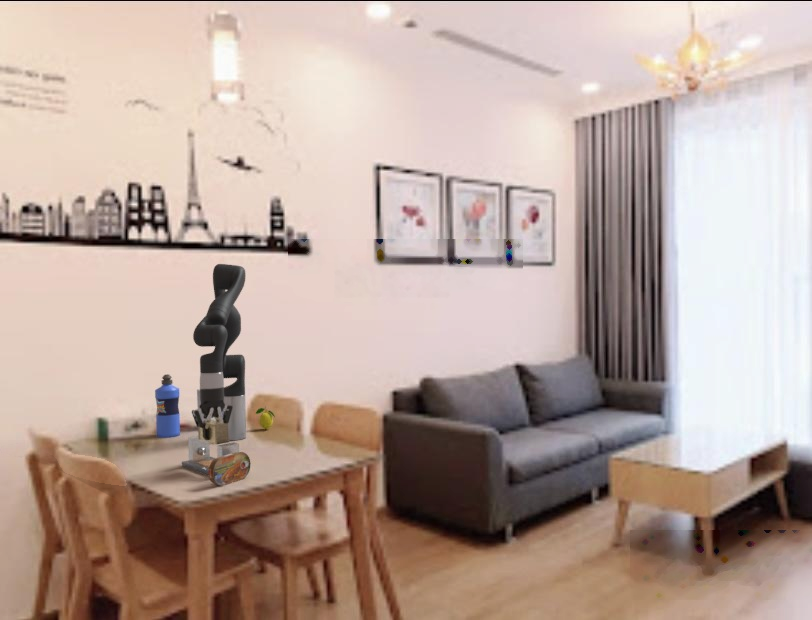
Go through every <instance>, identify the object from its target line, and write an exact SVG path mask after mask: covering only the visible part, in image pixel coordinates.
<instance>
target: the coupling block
mask: <svg viewBox="0 0 812 620" xmlns="http://www.w3.org/2000/svg"><path fill="white" fill-rule="evenodd" d="M202 422H203V420H202ZM197 428H198V429H197V430H198V435H197V436H198V438H199V440H203V441H207V442H209V444H210V443H211V444H215V445H223V444H228V443H230V442H229V441H230V440H229V439H228V423H223V422H218V421H214V420H211V421H210V423H209V428H208V429H209V440H205V439H204V438H203V429H202V428H200V427H197Z"/></svg>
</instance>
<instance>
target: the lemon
mask: <svg viewBox="0 0 812 620" xmlns="http://www.w3.org/2000/svg"><path fill="white" fill-rule="evenodd" d="M262 412H263V413H262ZM260 413H261V414H260ZM254 414H256V415H257V414H260V417H259V426H260V427H261V428H263V429H265V431H267V430H268V429H269V428H271V427H272V426H273V423H274V418H276V416H275V414H274V412H272V411H271V410H265V407H264V408H263V407H260V408H258V409H257V410H256V411H255V413H254ZM273 417H274V418H273Z"/></svg>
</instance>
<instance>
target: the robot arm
mask: <svg viewBox="0 0 812 620" xmlns="http://www.w3.org/2000/svg"><path fill="white" fill-rule="evenodd" d="M212 272H213V273H212V286H213V293H214V299H213V301H212V302H211V303H210V304H209V307H208V310H207V311H206V315H205V316H204V317H203V318H202V320H200V322H199V323H198V324H197V325H196V326H195V329H194V330H193V333H192V334H193V335H192V336H193V337H192V338H193V343H195V344H196V345H197V346H199V347H203V348H204V347H207V348H208V347H209V348H210V347H214V350H212V352H210V353H205V354H202V355H201V356H200V358H199V368H200V370H199V371H200V372H199V389H200V401H201V404H200V407H199V408H198V407H197V408H196V409H192V410H191V414H192V417H193V420H194V423H195V426H196V427H197V428H198V427H200V428H202V429H203V438H204V439H205V440H209V429H208V428H209V423H210V421H211V418H213V417H214V418H215V419H216V421H218V422H223V423H228V439H229V441H239V440H244V439H246V438H247V419H246V418H247V417H246V413H247V411H246V382H245V380H246V379H245V378H246V360H245V356H244V355H243V354H227V353H228V351H229V350H230V348H231V347H232V345H233V344H234V343H235V342H236V341H237V339H238V338H239V336H240V334H241V331H242V317H241V314H240V312H239V310H238V308H237V307H236V306H235V303H236V302H237V299H238V298H239V296H240V294H241V293H242V290H243V289H244V287H245V282H246V269H245V268H244V267H243V266H241V265H238V264H237V265H235V264H225V263H218V264H216V265H215V266H214V267H213V271H212ZM224 379H236V380H235V382H234V381H233V383H230V385H226V386H225V382H224V381H225V380H224ZM201 412H202V413H203V418H202V420H203V422H202V420H201V417H200V415H201Z"/></svg>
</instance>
